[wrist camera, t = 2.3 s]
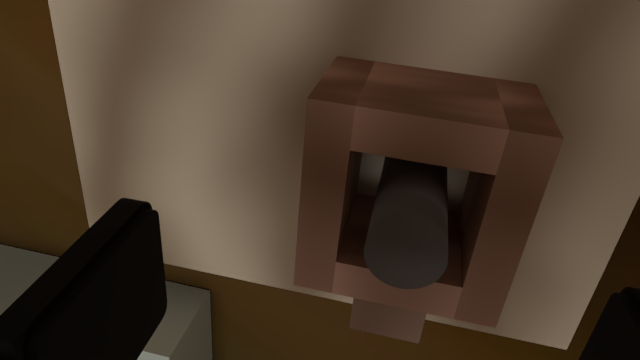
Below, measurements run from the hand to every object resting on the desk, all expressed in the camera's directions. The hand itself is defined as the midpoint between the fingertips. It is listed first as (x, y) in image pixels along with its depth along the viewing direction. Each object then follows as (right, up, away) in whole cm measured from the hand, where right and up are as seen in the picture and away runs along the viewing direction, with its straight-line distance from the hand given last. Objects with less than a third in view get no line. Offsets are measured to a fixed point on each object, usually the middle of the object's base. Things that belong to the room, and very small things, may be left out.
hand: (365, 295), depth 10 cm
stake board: (0, +4, +7) cm, 9 cm away
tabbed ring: (+2, +2, +7) cm, 7 cm away
